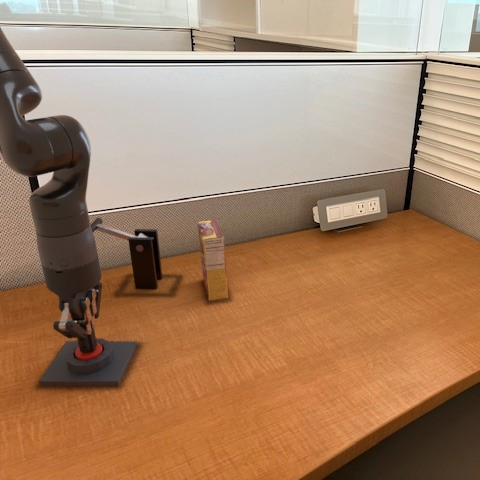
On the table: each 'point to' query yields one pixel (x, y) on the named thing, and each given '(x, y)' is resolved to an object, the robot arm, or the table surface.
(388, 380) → the table surface
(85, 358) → the button
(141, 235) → the lever
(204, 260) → the candy box
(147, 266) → the bracket
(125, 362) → the control block
